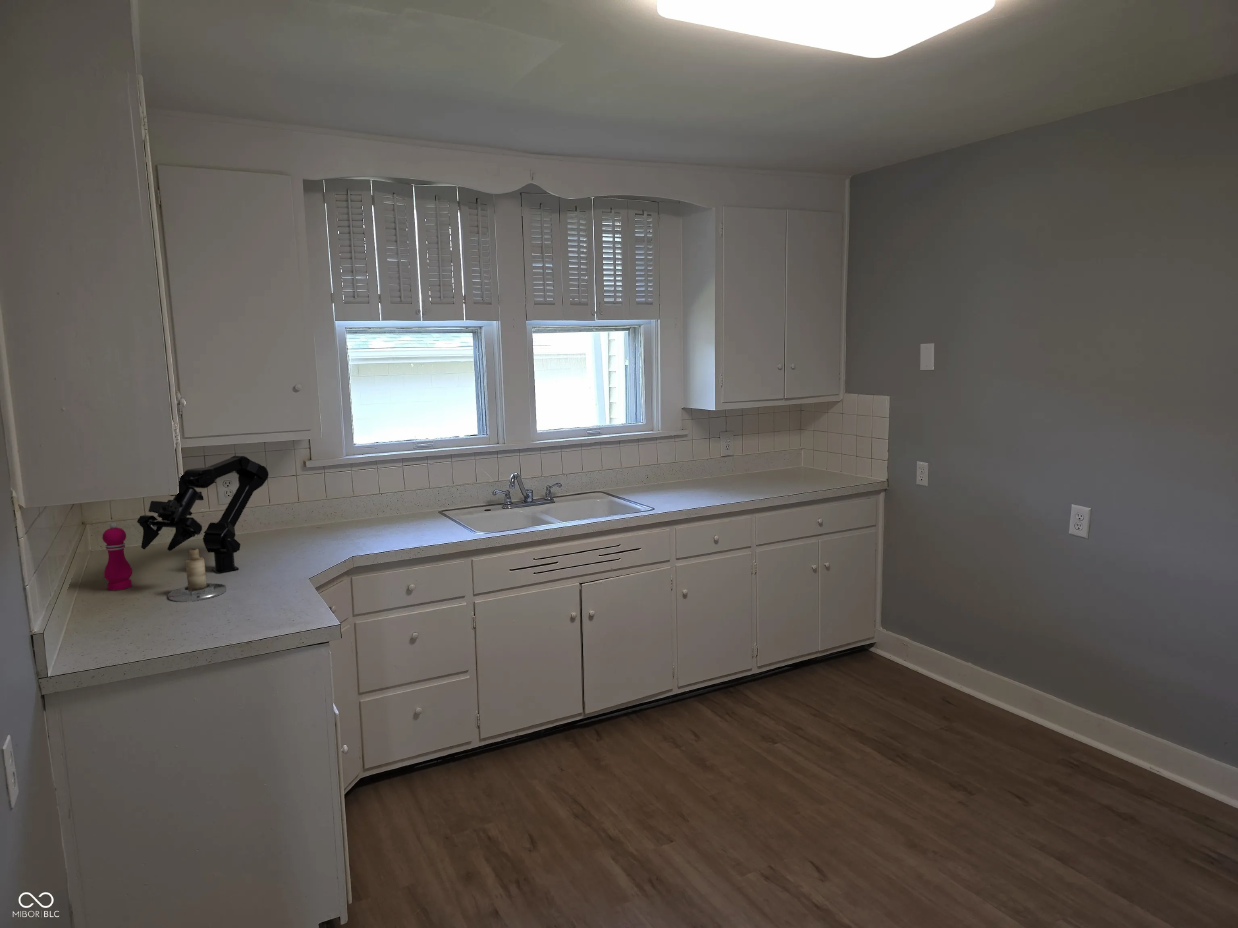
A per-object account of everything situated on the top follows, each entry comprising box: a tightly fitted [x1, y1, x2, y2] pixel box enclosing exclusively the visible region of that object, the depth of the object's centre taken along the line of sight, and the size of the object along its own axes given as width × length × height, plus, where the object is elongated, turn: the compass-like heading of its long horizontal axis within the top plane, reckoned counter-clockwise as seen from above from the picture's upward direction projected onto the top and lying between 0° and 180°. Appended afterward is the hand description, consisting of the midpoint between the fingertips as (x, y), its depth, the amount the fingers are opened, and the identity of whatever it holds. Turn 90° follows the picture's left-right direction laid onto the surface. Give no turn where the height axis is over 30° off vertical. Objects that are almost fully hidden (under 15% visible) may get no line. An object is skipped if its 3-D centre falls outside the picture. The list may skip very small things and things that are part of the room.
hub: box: [167, 582, 227, 603], centre depth 230 cm, size 15×15×2 cm
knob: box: [185, 548, 207, 591], centre depth 229 cm, size 5×5×13 cm
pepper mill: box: [101, 522, 134, 591], centre depth 236 cm, size 7×7×20 cm
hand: (155, 549), depth 228 cm, fingers open, 9 cm apart
